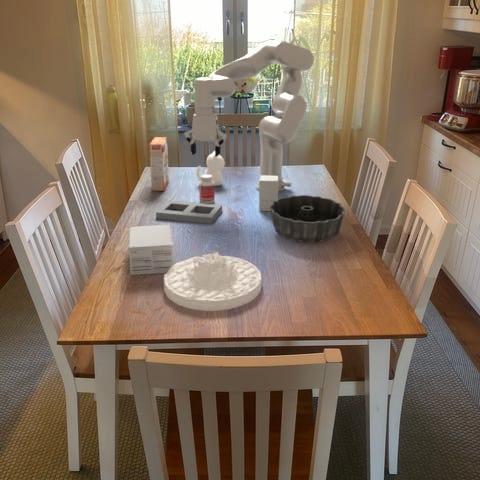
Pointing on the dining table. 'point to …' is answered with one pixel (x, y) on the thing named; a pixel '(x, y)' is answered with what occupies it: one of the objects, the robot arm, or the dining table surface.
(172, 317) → the dining table surface
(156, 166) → the cracker box
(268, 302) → the dining table surface
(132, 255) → the supplement box
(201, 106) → the robot arm
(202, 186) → the pill bottle
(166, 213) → the rail
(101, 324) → the dining table surface
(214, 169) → the cat figurine
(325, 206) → the bundt pan
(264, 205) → the supplement box
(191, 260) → the cake
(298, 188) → the dining table surface
